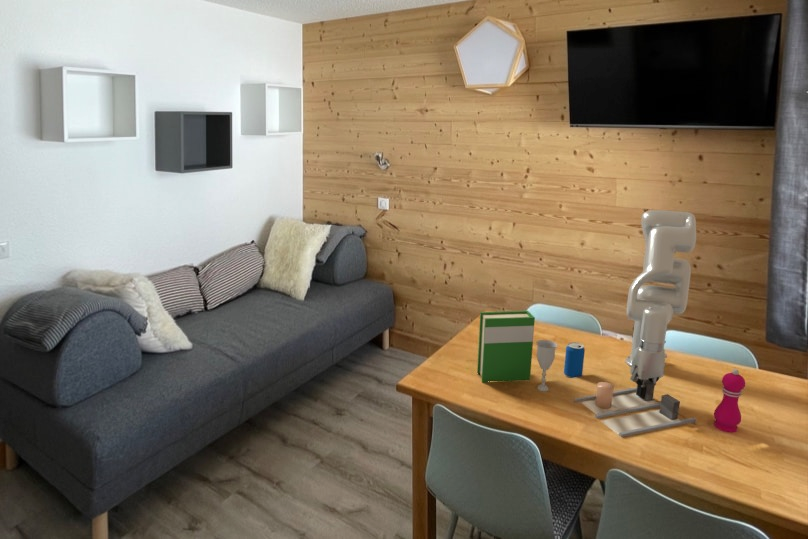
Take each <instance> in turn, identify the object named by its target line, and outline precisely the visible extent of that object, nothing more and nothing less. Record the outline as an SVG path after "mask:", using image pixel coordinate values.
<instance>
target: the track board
mask: <svg viewBox="0 0 808 539" xmlns="http://www.w3.org/2000/svg"><path fill="white" fill-rule="evenodd" d="M636 391H637V386H636V387H631V388H625V389H620V390H613V396H617V395H622V394H628V393H634V392H636ZM594 399H596V394H591V395H586V396H581V397H574V398H573V401H574V402H575V403H581V402H583V401H589V400H594ZM653 400H655V401H656V402H657V403H652V404H646V405H641V406H636V407H630V408H625V409H620V410H615V411H609V412H604V413H599V414H595V413H594V414H595V416H594V418H596V419H597V420H598V419H603V418H607V417H612V416H613V417H614V416H618V415H623V414H627V413H629V414H630V413H633V412H639V411H644V410H649V409H654V408H660V404H661V400H660V401H659V400H658V399H656V398H655V397H654V396H653ZM678 415H679V416H680V417H681V418H683V419H679V420H678V421H673V422H668V423H664V424H659V425H654V426H649V427H644V428H639V429H634V430H629V431H625V432H620V433H619V435H618V436H619V437H620V438H624V437H627V436H633V435H638V434H642V433H648V432H652V431H657V430H658V431H659V430H662V429H667V428H672V427H676V426H682V425H687V424H693V425H697V423H696V422H697V418H696V417H689V418H688V417H686V416H684V415H682V414H681V413H679V412H678Z"/></svg>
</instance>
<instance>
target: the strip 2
mask: <svg viewBox="0 0 808 539" xmlns="http://www.w3.org/2000/svg"><path fill="white" fill-rule="evenodd" d="M660 402H661V404H660V407H659V409H654V410H650V411H645V412H640V413H633V414H630V415H629V414H628V415H624V416H618V417H615V418H609V419H604V420H600V423H602V424H603V425H605V426H606V427H607V428H608V429H610V430H611V431H613V432H614V433H615V434H616V435H618V436H619V433H620V432H625V431H629V430H634V429H639V428H644V427H649V426H654V425H659V424H664V423H668V422H673V421H678V420H680V419H679V414H678V413H679V412H680V405H681V401H680V400H678V399H677V398H675V397H674V396H672V395H670V394H669V393H666V394H661V398H660Z"/></svg>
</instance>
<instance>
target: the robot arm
mask: <svg viewBox="0 0 808 539" xmlns="http://www.w3.org/2000/svg"><path fill="white" fill-rule="evenodd" d="M696 220H697V219H696V216H695V215H694V213H691V212H690V211H688V212H687V211H676V210H675V211H673V210H661V209H654V210H653V209H652V210H651V209H650V210H646V211H645V212H643V213H642V215H641V221H640V223H641V224H640V225H641V229H642V233H643V236H644V240H645V242H644V243H645V248H644V257H643V265H642V266H643V267H642V272H641V273H640V274H638V276H636V277H635V278H634V280H633V281H632V283H631V285H630V287H629V289H628V293H627V303H626V316H627V318H628V319H629V320H631V321H634V325H633V326H634V327H633V332H632V333H633V334H632V343H631V350H630V355H629V356H626V358H625V363H626V365H628V366H630V375H631V376H630V381H632V382H634V383H635V384H636V387H637V385H638V387H637V395H638V396H639V397H641V398H642V399H644V398H645V393H646V387H645V383H646V379H647V380H649V381H651V382H653V383H654V384H655V386H656V385H657V382H658V381H659V379H662V378H663V377H664V371H665V365H666V359H667V358H668V354H667V353H666V352H665V344H666V342H667V341H666V337H667V336H666V335H667V330H668V329H667V328H668V325H669V323H670V322H671V321H672V320H673V316H674V314H675V315H681V314H683V313H684V312H685V311H686V308H687V306H688V300H689V299H688V297H689V291H690V282H691V276H692V275H691V272H692V270H691V264H690V262H689V260H686V259H683V258H678V257H677V258H675V253H677V252H678V253H687V254H688V253H689V254H690V253H691V252H693V251H694V249H695V247H696V242H697V225H696V224H697V221H696ZM647 282H652V283H653V282H654V283H659V284H660V283H661V284H669V285H673V286H675V287H669V286H663V285H661V286H660V285H651V284H645V283H647ZM641 380H642V382H641Z"/></svg>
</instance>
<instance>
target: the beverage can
mask: <svg viewBox="0 0 808 539" xmlns="http://www.w3.org/2000/svg"><path fill="white" fill-rule="evenodd" d="M585 350H586V349H585V346H584V344H583V343H580V342H573V341H572V342H569V343H567V345H566V347H565V357H564V367H563V374H564V375H565V376H566V377H567V378H569V379H575V378H579V377H582V376H583V372H584V371H583V370H584V362H585V361H584V360H585V352H586V351H585Z"/></svg>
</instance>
